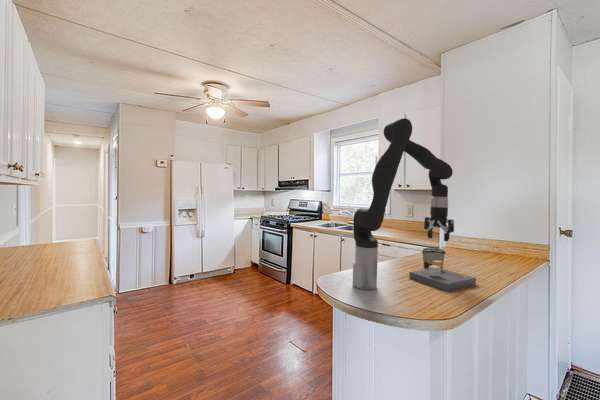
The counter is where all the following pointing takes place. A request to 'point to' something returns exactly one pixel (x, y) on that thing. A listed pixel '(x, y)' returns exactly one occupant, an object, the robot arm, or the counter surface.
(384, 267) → the counter surface
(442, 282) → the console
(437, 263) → the orange fader
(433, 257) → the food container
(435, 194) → the robot arm
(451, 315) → the counter surface
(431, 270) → the grey fader
